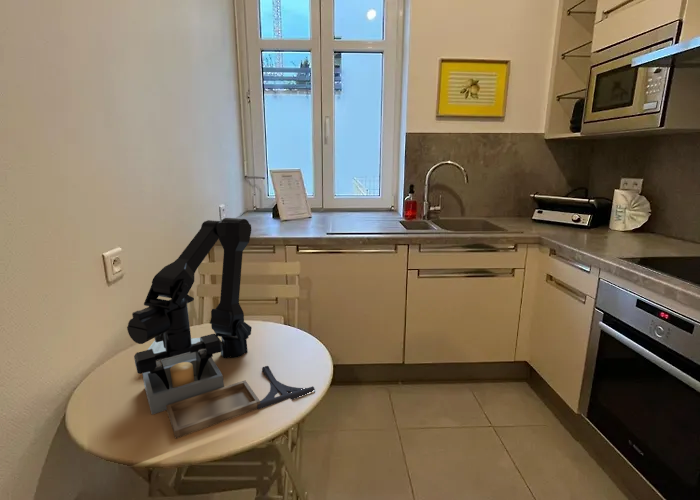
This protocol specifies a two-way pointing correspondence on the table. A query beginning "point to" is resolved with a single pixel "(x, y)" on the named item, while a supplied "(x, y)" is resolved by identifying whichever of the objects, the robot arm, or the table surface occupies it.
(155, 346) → the skincare box
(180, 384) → the tan cylinder
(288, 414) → the table surface
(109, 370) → the table surface
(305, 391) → the bracket
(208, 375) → the grey storage bin
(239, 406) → the walnut tray
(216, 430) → the table surface
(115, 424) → the table surface
